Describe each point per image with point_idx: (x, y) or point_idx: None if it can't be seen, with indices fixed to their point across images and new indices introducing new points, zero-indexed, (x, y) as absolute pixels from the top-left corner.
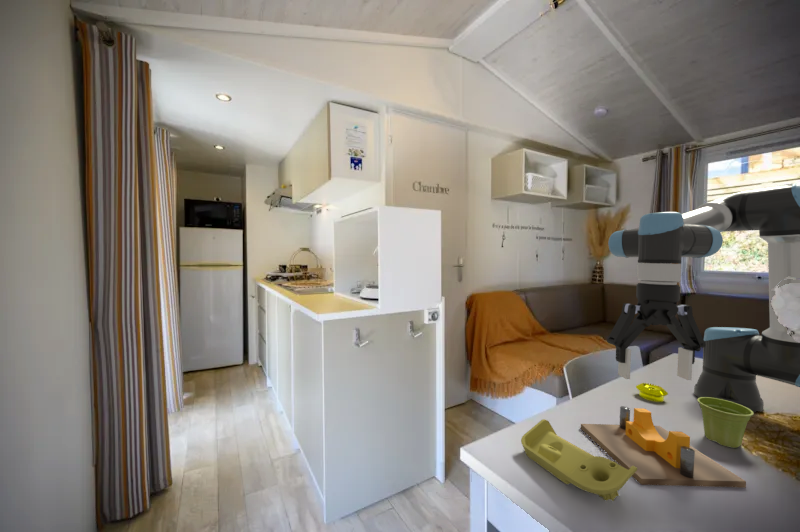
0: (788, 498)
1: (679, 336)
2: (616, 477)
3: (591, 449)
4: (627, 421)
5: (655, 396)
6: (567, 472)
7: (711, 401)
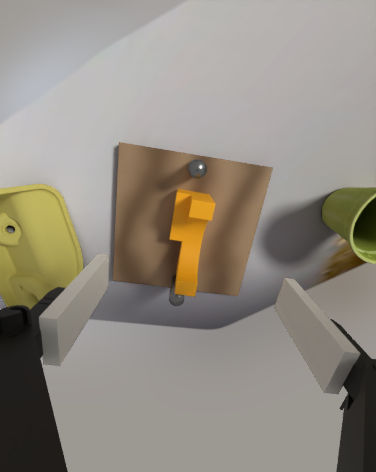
0: (261, 307)
1: (346, 452)
2: None
3: (99, 206)
4: (179, 193)
5: None
6: (18, 266)
7: None
